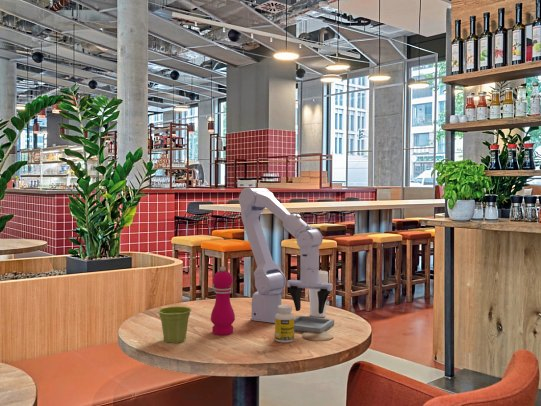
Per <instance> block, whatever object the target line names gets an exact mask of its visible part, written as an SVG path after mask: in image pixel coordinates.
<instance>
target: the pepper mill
mask: <svg viewBox="0 0 541 406" xmlns="http://www.w3.org/2000/svg"><path fill="white" fill-rule="evenodd" d="M219 270H220V271H217V272H216V273H214V275H213V277H212V283H213V285H214V286H215V287H214V293H215V301H214V302H215V303H214V306H213V308H212V311H211V313H210V322H211V323H212V324H213V325H212V330H211V332H212V334H214V335H217V336H228V335H232V334H233V333H234V326H233V323H234V322H235V321H236V315H235V311H234V309H233V306H232V304H231V297H230V295H231V292H232V287H231V286H232V284H233V281H234V278H233V275H232V274H231V272H229V271H226V270H227V268H226V266H225V265H222V266H219Z"/></svg>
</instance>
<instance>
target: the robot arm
mask: <svg viewBox="0 0 541 406" xmlns="http://www.w3.org/2000/svg"><path fill="white" fill-rule="evenodd" d="M237 199H238V203H239V206H240V217H241V221H242V224H243V226H244V230H245V234H246V236H247V239H248V242H249V246H250V248H251V251H252V254H253V257H254V258H253V259H254V260H255V264H256V268H255V270H254V271H253V277H254V286H255V290H257V291H255V292H254V293H253V294H252V298H251V318H250V320H251V321H255V322H256V321H257V322H263V323H270V324H271V323H272V324H275V315H276V314H277V313H279V312H278V306H279V305H282V295H283V294H282V293H283V291H284V290H283V289H284V288H285V287H287V288H288V292H289V295H290V297H291V298H292V301H293V304H294V309H295V312H299V311H300V310H301V308H302V307H301V306H302V303H301V298H302V290H303V289H308V290H309V289H319V290H320V291H318V292H317V294H318V301H319V308H318V311H319V314H322V313H323V310H324V306H325V302H326V300H327V301H328V297H329V295H330V293H331V291H332V292H333V285H334V283H330V282H328V283H324V282H319V269H320V246H321V245H322V243H323V235H322V233H321V231H320V229H318V228H312V225H310V224H308V223H307V222H306V221H304V220H303V219H302V218H301V217H302V216H301V215H300V214H296V213H291V212H290V211H288V210H287V209H286V208H285V207H284V205H283V204H282V203H280V201H279V200H277V198H276V197H275V196H274V193H273V192H271V191H270V190H269V189H268V188H266V187H245V188H243V189H242V190H241V191H240V194H239V196H238V198H237ZM265 209H267V210H268V211H270V212H271V213H272V214H273V215H275V216H276V217H277V218H278V219H280V220H281V221H282V227H283V228H284V229H285V230H286V231H287V232H288V233H289V234H290V235H292V236H293V237H294V238H295V239H296V243H297V245H298V249H299V254H300V258H299V259H300V260H299V261H300V263H299V267H300V275H299V276H300V278H299V280H298V279H289V280H287V278H286V276H285V274H284V272H283V271H282V269H281V267H280V266H279V265H278V264H277V263H276V262H274V259H273V258H272V254H271V251H270V248H269V245H268V243H267V239H266V236H265V234H264V230H263V227H262V224H261V221H260V218H259V217H260V215H261V214H262V213H263V211H265Z"/></svg>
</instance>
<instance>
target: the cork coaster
mask: <svg viewBox="0 0 541 406" xmlns="http://www.w3.org/2000/svg"><path fill="white" fill-rule="evenodd" d="M302 338H303V339H306V340H308V341H314V342H323V341H324V342H325V341H330V340H332V339H334V334H333V333H331V332H328V331H323V332H322V333H314V332H305V333H304V332H302Z"/></svg>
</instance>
